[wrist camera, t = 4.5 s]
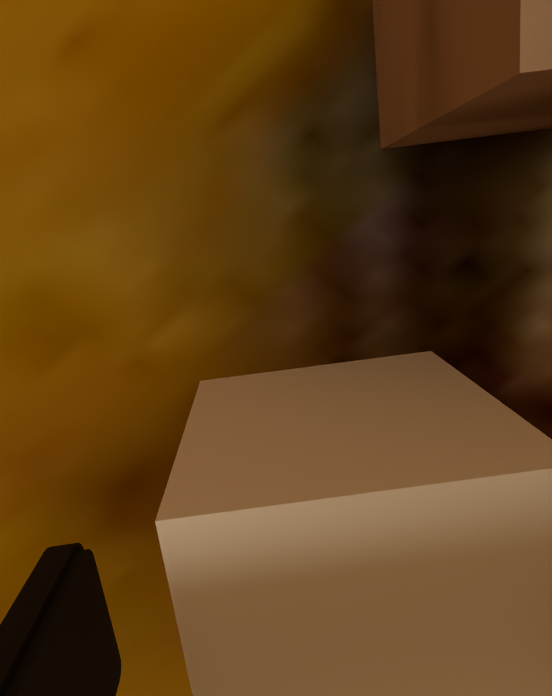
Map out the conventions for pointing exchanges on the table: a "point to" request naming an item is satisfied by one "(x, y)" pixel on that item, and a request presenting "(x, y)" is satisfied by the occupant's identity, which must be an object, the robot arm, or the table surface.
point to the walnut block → (461, 68)
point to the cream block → (360, 535)
